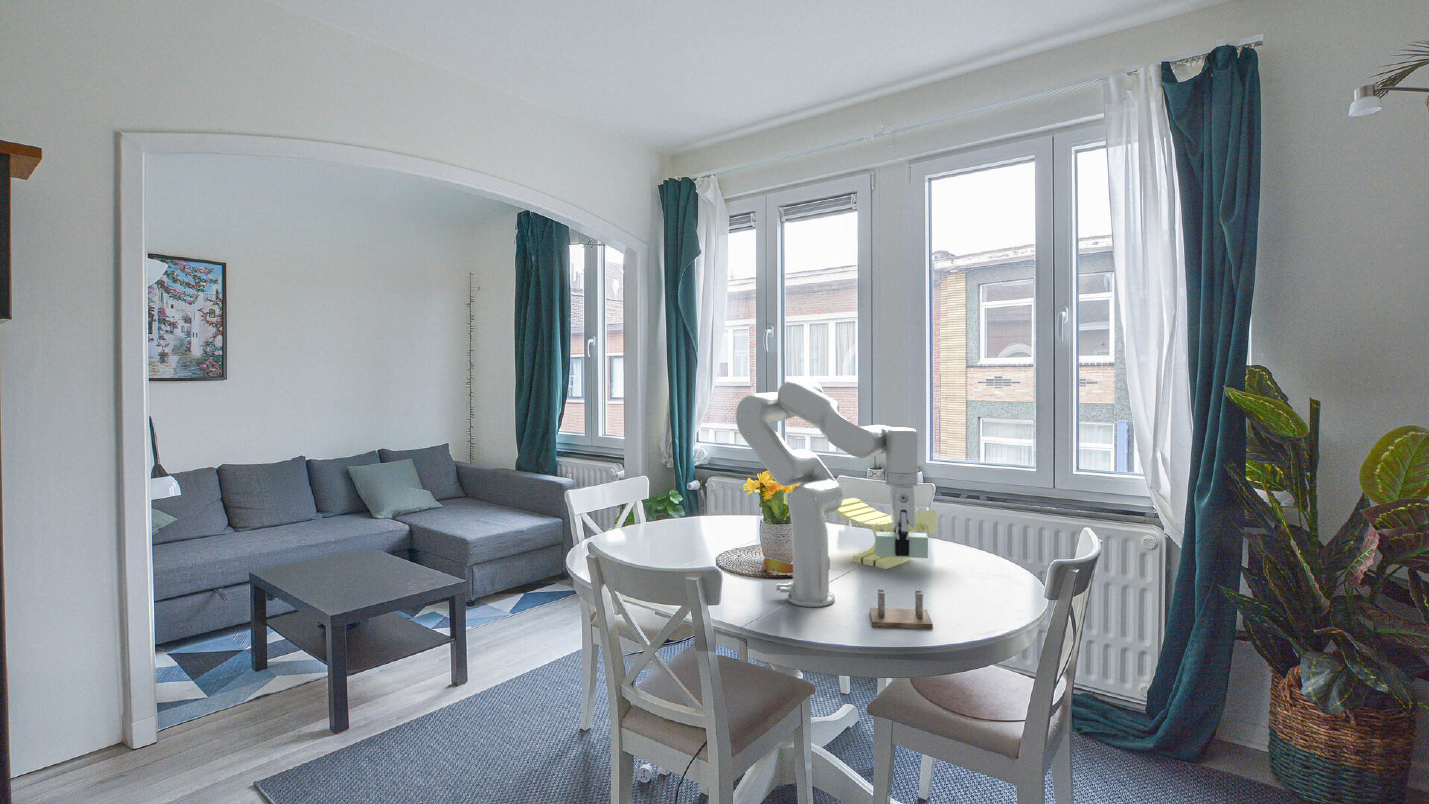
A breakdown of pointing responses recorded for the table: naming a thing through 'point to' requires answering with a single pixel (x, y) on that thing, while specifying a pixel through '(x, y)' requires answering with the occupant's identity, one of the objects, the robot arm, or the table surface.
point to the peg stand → (901, 614)
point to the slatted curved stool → (882, 528)
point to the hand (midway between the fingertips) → (900, 551)
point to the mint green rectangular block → (887, 545)
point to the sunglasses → (778, 565)
